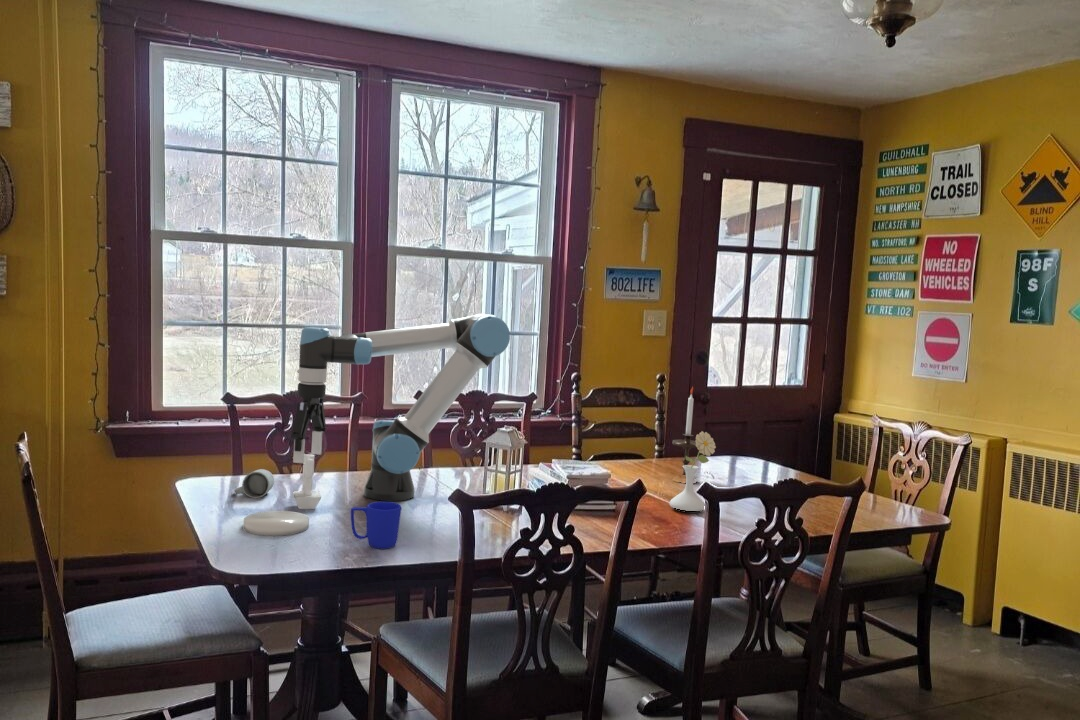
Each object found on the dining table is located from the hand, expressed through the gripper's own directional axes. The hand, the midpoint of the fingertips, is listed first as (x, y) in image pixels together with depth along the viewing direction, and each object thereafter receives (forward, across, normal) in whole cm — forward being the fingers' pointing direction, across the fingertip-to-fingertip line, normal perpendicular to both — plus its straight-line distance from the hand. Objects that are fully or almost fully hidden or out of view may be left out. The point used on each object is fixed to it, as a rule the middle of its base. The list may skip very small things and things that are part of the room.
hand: (307, 458), depth 233 cm
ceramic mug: (+14, -8, -18) cm, 25 cm away
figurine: (+14, 0, 0) cm, 14 cm away
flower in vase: (+13, -35, +110) cm, 117 cm away
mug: (+14, +29, +28) cm, 43 cm away
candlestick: (+12, -79, +112) cm, 138 cm away
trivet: (+14, +21, 0) cm, 25 cm away
